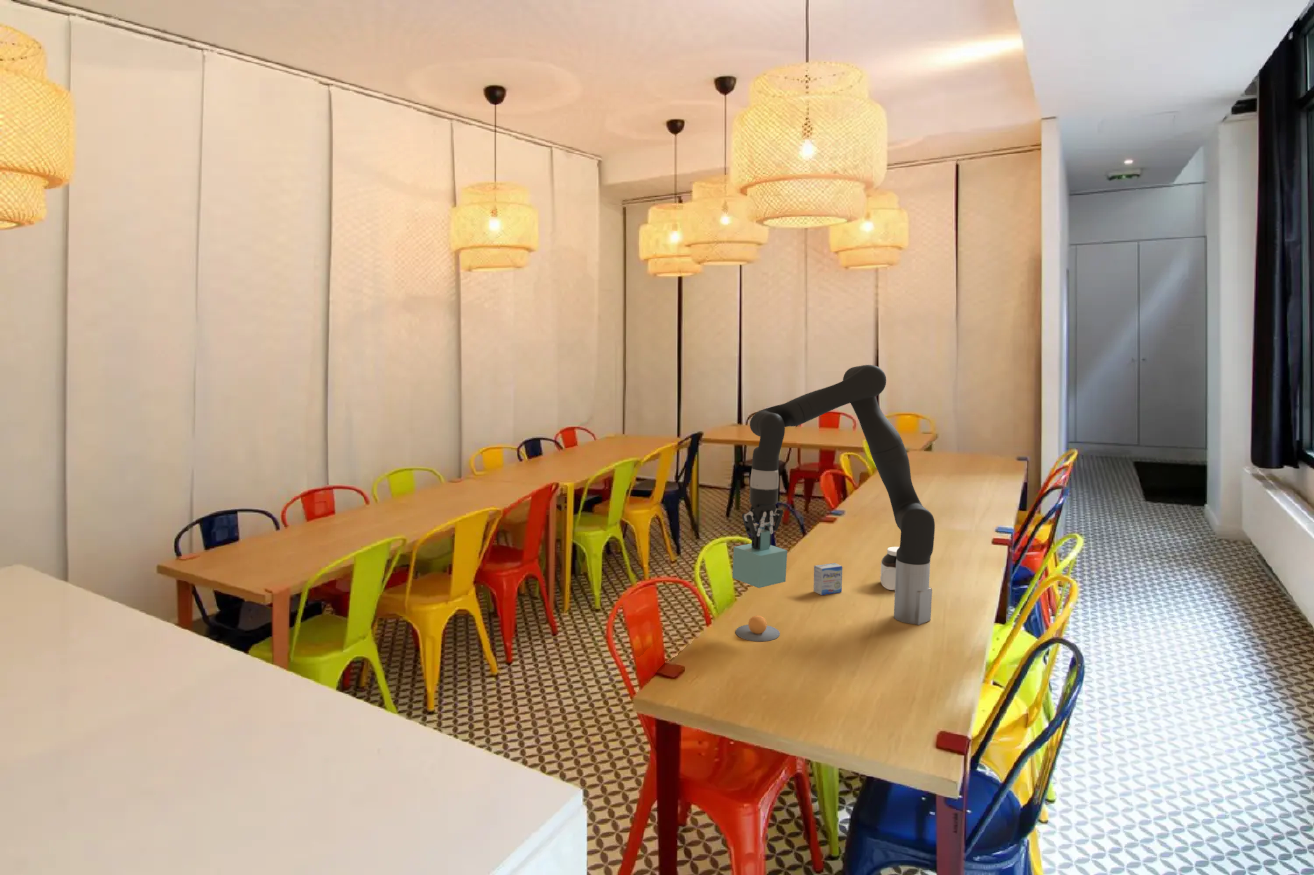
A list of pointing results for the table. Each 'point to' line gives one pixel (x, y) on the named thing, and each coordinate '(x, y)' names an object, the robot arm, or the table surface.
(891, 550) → the spread jar
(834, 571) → the medicine box
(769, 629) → the spot
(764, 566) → the teal cube with peg
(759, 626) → the ball
